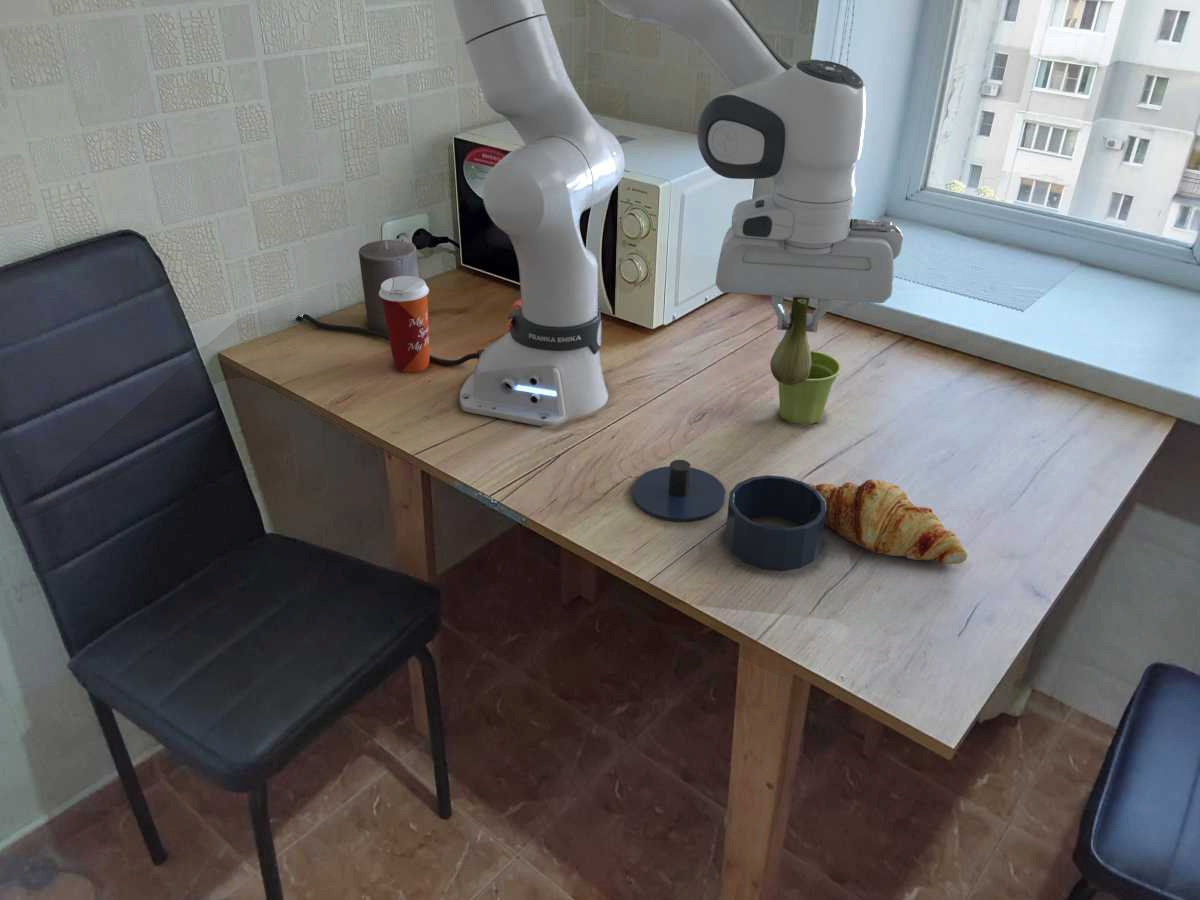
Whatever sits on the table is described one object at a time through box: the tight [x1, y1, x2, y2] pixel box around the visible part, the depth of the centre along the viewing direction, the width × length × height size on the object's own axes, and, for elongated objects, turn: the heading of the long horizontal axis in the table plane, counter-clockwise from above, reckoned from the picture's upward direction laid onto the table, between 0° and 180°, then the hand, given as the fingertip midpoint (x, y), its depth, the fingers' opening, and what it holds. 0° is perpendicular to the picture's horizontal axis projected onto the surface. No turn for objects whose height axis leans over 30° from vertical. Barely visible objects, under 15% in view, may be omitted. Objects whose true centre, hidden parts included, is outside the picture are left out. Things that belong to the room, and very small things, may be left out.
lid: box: [631, 459, 727, 523], centre depth 123 cm, size 12×12×5 cm
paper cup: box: [379, 276, 430, 374], centre depth 152 cm, size 8×8×14 cm
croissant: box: [806, 479, 968, 565], centre depth 116 cm, size 21×10×8 cm, turn 53°
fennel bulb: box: [769, 297, 811, 385], centre depth 116 cm, size 6×5×12 cm
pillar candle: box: [358, 239, 420, 335], centre depth 166 cm, size 10×10×15 cm
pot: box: [724, 474, 826, 572], centre depth 114 cm, size 11×11×6 cm
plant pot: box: [778, 349, 842, 425], centre depth 140 cm, size 9×9×9 cm
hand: (796, 329), depth 116 cm, fingers closed on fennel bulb
